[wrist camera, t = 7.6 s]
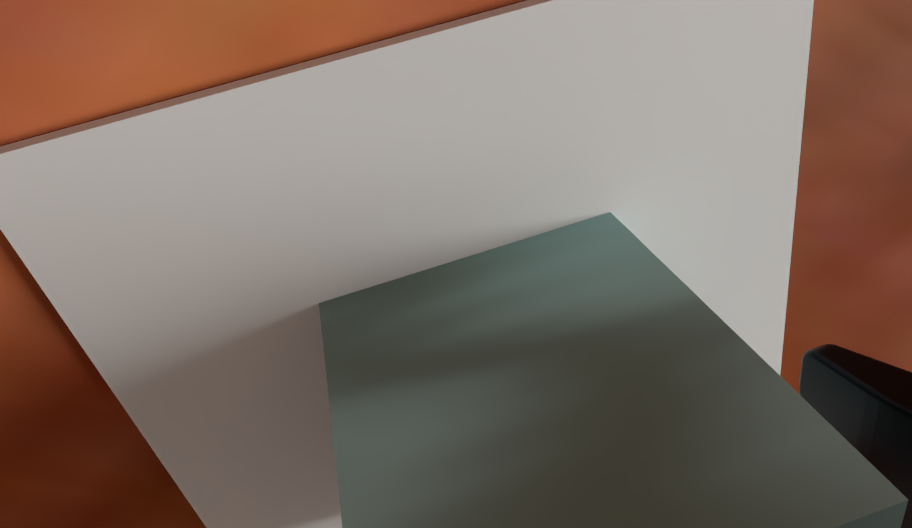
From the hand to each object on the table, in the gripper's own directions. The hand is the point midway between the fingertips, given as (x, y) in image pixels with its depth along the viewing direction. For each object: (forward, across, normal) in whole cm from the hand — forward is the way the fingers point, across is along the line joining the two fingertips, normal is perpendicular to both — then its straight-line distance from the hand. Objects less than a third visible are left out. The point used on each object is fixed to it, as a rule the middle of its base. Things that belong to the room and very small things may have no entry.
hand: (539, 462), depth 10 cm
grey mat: (+3, 0, 0) cm, 3 cm away
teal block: (+2, 0, 0) cm, 2 cm away
